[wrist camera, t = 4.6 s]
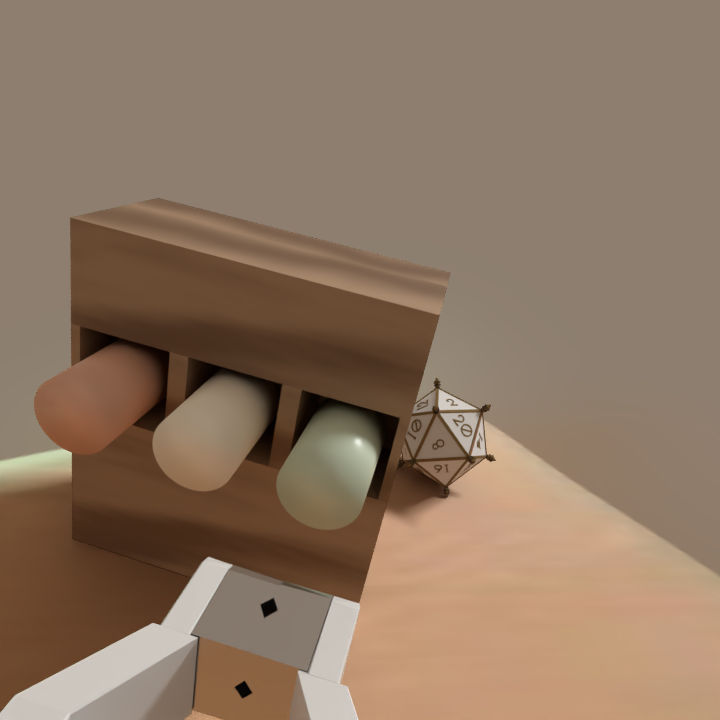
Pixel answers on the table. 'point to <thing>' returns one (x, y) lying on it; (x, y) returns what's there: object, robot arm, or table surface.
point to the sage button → (332, 465)
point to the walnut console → (250, 356)
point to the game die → (445, 437)
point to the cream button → (215, 429)
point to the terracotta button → (102, 395)
